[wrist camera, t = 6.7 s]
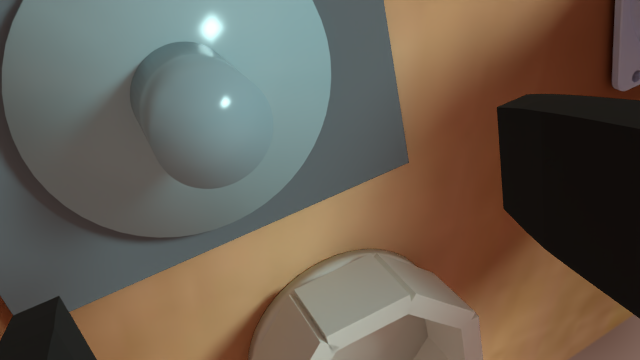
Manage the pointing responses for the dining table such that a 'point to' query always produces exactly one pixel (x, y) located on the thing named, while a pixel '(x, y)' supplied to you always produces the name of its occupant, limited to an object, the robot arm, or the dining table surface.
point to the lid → (165, 105)
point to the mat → (162, 253)
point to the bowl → (367, 314)
